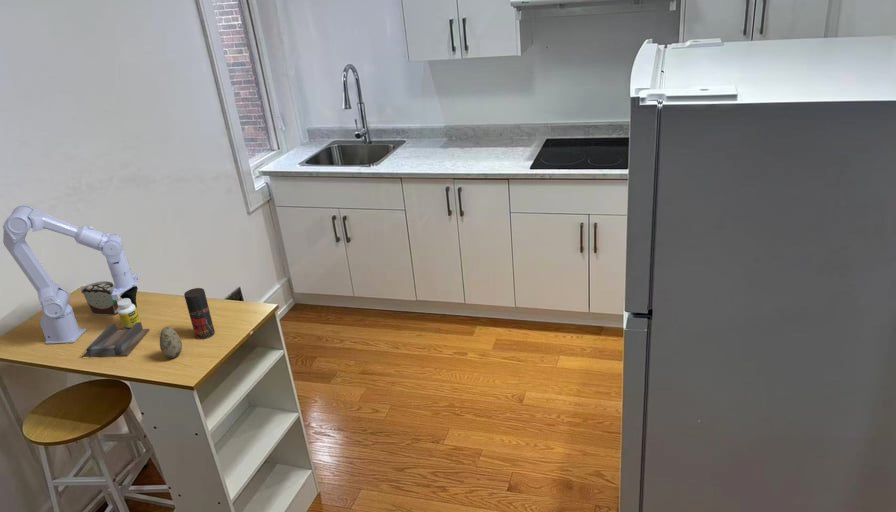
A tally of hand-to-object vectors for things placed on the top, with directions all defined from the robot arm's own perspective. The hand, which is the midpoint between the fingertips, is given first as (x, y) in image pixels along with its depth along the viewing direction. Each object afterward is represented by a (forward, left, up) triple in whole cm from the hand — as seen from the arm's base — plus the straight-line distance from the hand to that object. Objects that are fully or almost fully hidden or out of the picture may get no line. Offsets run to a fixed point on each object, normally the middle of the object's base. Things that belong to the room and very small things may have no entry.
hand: (133, 308), depth 217 cm
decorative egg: (+22, -22, -6) cm, 31 cm away
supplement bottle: (0, -3, -5) cm, 6 cm away
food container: (-14, +9, -6) cm, 18 cm away
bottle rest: (0, -13, -5) cm, 14 cm away
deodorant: (+27, -10, -6) cm, 29 cm away
